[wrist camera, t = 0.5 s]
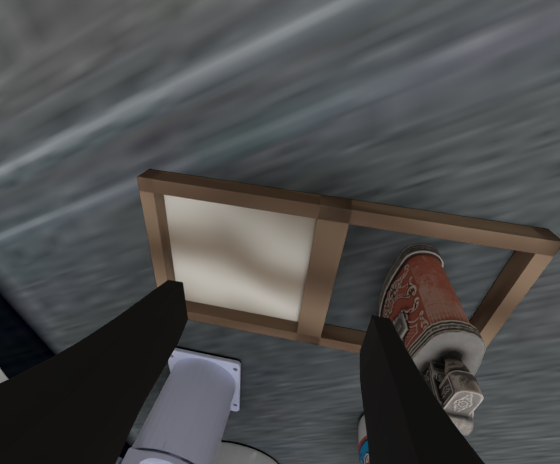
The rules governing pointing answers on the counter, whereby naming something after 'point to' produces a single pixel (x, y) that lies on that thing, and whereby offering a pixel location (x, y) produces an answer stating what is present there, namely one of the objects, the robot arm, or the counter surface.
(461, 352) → the lighter
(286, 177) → the counter surface
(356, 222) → the tray
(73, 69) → the counter surface
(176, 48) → the counter surface
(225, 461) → the utensil holder
